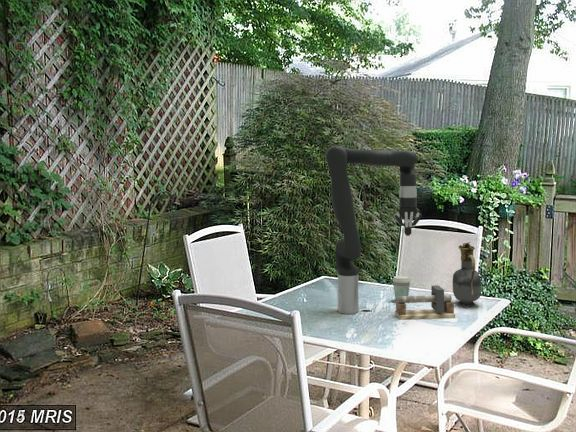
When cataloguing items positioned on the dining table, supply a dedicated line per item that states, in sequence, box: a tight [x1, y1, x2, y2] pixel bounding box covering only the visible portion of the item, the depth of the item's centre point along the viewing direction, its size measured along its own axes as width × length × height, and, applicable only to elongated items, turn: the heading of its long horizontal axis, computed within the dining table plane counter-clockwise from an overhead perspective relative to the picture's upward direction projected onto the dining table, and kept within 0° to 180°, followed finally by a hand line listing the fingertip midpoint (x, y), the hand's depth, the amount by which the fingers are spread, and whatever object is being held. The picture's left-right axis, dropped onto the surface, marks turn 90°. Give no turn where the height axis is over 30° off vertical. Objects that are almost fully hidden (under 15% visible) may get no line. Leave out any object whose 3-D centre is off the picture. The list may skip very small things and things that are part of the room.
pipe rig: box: [394, 294, 456, 321], centre depth 269 cm, size 24×10×9 cm, turn 92°
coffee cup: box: [392, 275, 411, 303], centre depth 295 cm, size 8×9×12 cm
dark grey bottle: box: [452, 241, 482, 307], centre depth 284 cm, size 11×19×30 cm, turn 0°
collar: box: [430, 284, 445, 312], centre depth 269 cm, size 3×9×10 cm, turn 2°
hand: (407, 235), depth 272 cm, fingers closed
